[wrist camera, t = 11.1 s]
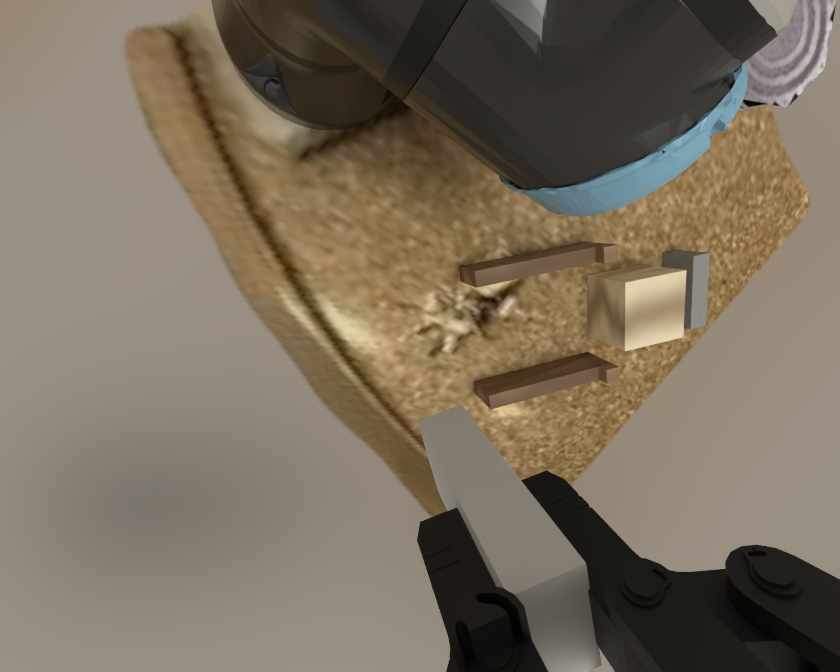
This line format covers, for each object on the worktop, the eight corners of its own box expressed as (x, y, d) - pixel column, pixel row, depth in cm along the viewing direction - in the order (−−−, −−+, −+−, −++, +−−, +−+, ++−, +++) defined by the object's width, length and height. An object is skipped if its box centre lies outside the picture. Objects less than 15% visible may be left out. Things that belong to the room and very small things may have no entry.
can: (586, 68, 40) (695, 8, 28) (668, -24, 39) (812, -122, 28) (647, 160, 44) (764, 140, 32) (722, 78, 43) (867, 28, 32)
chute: (459, 266, 41) (479, 272, 37) (583, 242, 44) (617, 244, 39) (475, 394, 46) (495, 414, 41) (588, 364, 48) (619, 380, 43)
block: (586, 275, 45) (625, 282, 40) (641, 264, 47) (686, 270, 41) (587, 336, 47) (624, 351, 42) (640, 324, 49) (683, 337, 43)
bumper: (663, 253, 47) (693, 256, 43) (677, 250, 47) (709, 252, 44) (661, 321, 49) (690, 329, 46) (675, 317, 50) (705, 325, 46)
